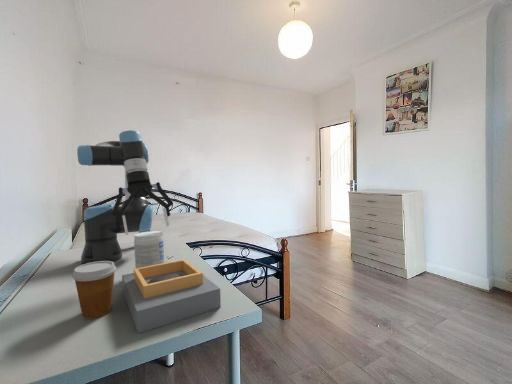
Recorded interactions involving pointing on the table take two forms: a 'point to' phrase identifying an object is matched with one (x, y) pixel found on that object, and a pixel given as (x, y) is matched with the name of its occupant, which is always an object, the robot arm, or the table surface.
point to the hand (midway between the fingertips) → (147, 230)
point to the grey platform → (168, 294)
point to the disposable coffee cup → (95, 287)
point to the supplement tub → (148, 249)
